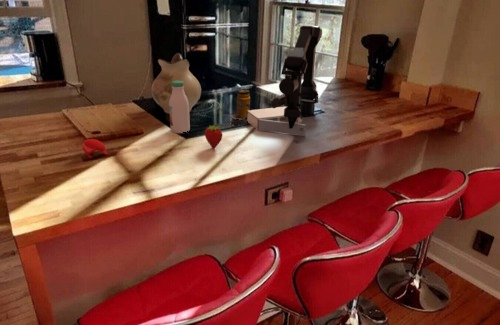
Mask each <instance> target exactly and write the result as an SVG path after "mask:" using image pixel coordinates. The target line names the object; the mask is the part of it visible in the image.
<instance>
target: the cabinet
mask: <svg viewBox="0 0 500 325" xmlns="http://www.w3.org/2000/svg"><path fill="white" fill-rule="evenodd" d="M285 108H286V107H284V106H279V107H276V108H272V107H269V108H267V107H266V108H260V109H259V108H258V109H250V110H248V114H247V120H246V121H248V124H250V125H251V126H252V127H254V128H255V129H256V130H257V123H258V119H263V120H272V121H281V122H288V117H284V109H285ZM295 123H298V124H301V117H298V118H297V120H296V122H295Z"/></svg>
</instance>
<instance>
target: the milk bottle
mask: <svg viewBox="0 0 500 325" xmlns="http://www.w3.org/2000/svg"><path fill="white" fill-rule="evenodd" d="M183 87H184V82H183V81H172V88H173V90H172V94H171V97H170V100H169V112H170V114H169V125H170V131H171V133H173V134H184V133H183V132H186V133H188V132H189V131H190V129H191V126H190V125H191V124H190V112H189V103H188V99H187V97H186V95H185V93H184V90H183ZM187 131H188V132H187Z"/></svg>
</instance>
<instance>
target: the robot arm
mask: <svg viewBox="0 0 500 325" xmlns="http://www.w3.org/2000/svg"><path fill="white" fill-rule="evenodd" d="M322 36H323V29H322V28H321V26H320V25H311V24H303V25H301V26H299V34H298V38H297V40H296V42H295V45H294V47H293V49H292V50H289V52H288V53H287V56H286V57H285V58H284V62H283V65H282V70H281V75H284V78H283V79H281V80H280V82H279V84H278V89H279V91H280V93H282V94H281V95H276V96H274V97H272V98H270V100H269V101H270V104H271V108H276V107H286V108H285V109H284V117H288V122H289V128H290V129H292V128H293V126H294V124H295V122H296V120H297V118H298V117H300V118H302V117H303V118H304V117H305V118H306V117H314V116H317V114H316V113H315V107H316V104H319V93H318V90H317V84H316V82H315V80H314V76H315V64H316V63H315V61H316V49H317V46H318V45H319V43H320V41H321V38H322ZM302 78H303V79H302ZM302 80H303V81H302ZM301 116H302V117H301Z"/></svg>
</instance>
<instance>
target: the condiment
mask: <svg viewBox="0 0 500 325" xmlns="http://www.w3.org/2000/svg"><path fill="white" fill-rule="evenodd" d="M248 110H251V96H250V90H249V89H239V90H237V96H236V114H230V115H229V117H230V118H233V119H234V120H236V119H239V118H241V119H239V120H238V121H241V120H246V119H245V118H247V114H248Z"/></svg>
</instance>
